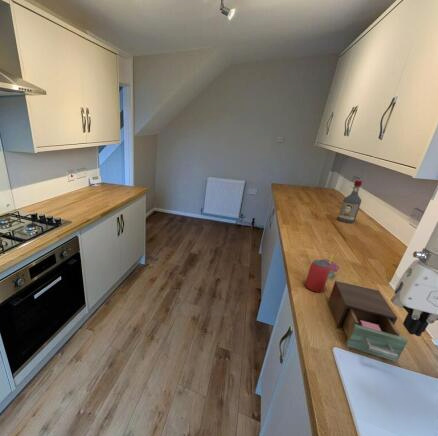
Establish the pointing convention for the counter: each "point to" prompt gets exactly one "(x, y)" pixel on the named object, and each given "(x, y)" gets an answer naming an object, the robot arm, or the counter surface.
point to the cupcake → (332, 266)
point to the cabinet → (357, 302)
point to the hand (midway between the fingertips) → (411, 330)
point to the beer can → (317, 275)
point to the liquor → (350, 205)
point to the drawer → (373, 335)
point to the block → (369, 325)
